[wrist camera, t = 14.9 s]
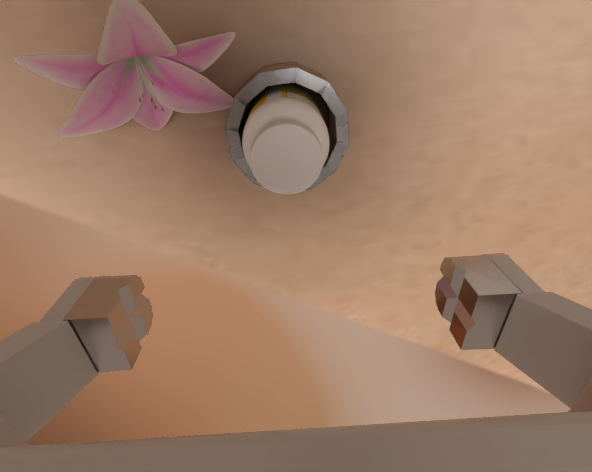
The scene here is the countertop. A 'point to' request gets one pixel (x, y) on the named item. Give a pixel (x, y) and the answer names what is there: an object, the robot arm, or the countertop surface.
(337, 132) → the collar
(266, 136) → the supplement bottle
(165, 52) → the lily
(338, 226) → the countertop surface
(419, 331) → the countertop surface
